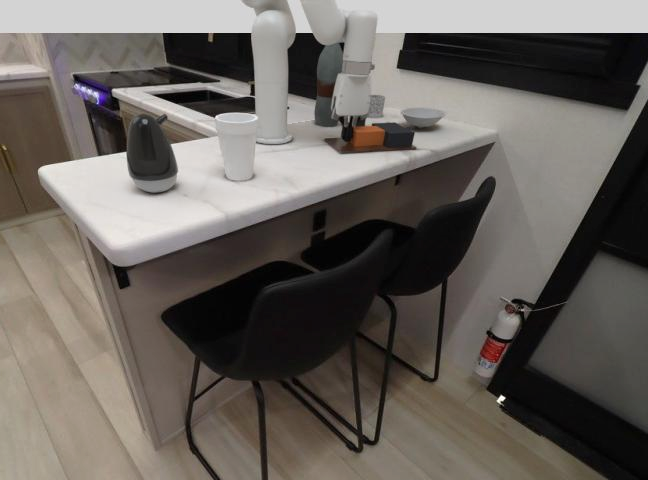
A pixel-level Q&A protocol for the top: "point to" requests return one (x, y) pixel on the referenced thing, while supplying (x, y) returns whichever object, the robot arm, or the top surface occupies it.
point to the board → (360, 147)
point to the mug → (376, 106)
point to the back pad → (396, 135)
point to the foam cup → (237, 143)
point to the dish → (422, 116)
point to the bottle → (327, 83)
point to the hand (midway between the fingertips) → (346, 140)
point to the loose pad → (367, 136)
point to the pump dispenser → (150, 154)
